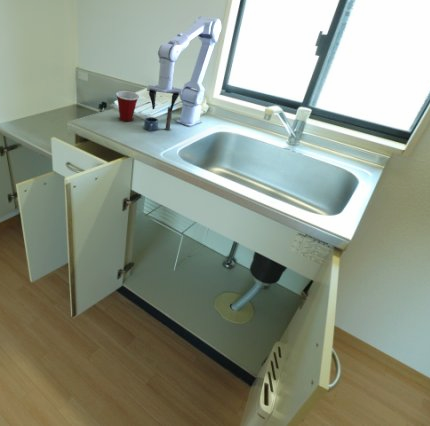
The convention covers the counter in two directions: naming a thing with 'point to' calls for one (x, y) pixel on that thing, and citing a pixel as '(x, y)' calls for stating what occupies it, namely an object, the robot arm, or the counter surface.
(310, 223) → the counter surface
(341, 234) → the counter surface
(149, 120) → the coffee cup
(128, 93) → the plastic cup
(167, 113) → the stirrer
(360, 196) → the counter surface
